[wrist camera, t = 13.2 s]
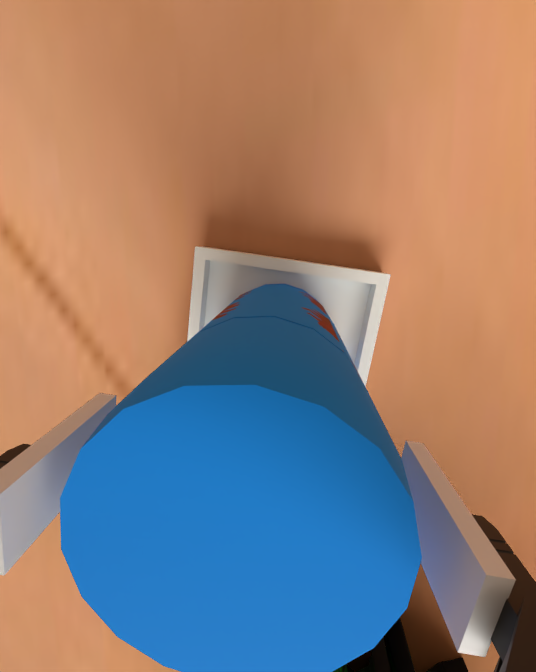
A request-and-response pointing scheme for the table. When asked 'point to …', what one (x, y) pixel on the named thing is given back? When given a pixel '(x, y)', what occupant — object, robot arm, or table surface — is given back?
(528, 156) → the table surface
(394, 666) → the decorative plant
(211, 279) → the tray
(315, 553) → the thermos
